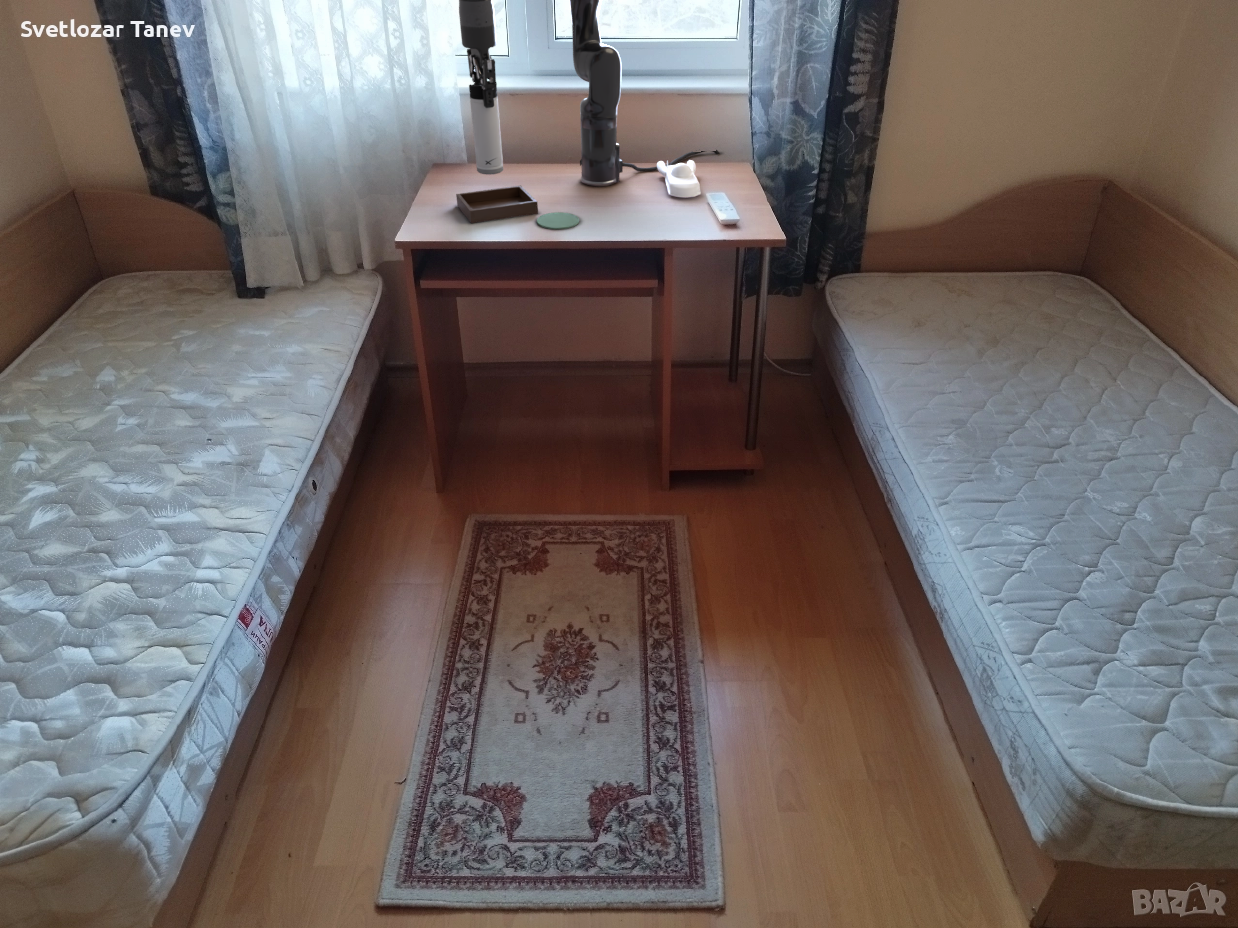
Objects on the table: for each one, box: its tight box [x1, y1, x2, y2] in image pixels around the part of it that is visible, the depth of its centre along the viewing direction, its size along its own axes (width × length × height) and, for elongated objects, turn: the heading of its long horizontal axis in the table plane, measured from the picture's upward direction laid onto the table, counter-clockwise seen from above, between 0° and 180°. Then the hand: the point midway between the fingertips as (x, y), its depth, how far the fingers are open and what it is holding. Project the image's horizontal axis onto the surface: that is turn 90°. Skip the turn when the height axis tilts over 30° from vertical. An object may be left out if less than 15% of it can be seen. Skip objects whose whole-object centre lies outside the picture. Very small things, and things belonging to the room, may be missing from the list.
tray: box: [455, 185, 539, 224], centre depth 211 cm, size 17×13×3 cm
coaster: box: [536, 211, 580, 230], centre depth 206 cm, size 10×10×1 cm
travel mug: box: [468, 80, 504, 176], centre depth 200 cm, size 6×7×20 cm
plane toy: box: [656, 159, 702, 198], centre depth 225 cm, size 10×20×6 cm, turn 5°
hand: (484, 103), depth 197 cm, fingers closed on travel mug, 6 cm apart
